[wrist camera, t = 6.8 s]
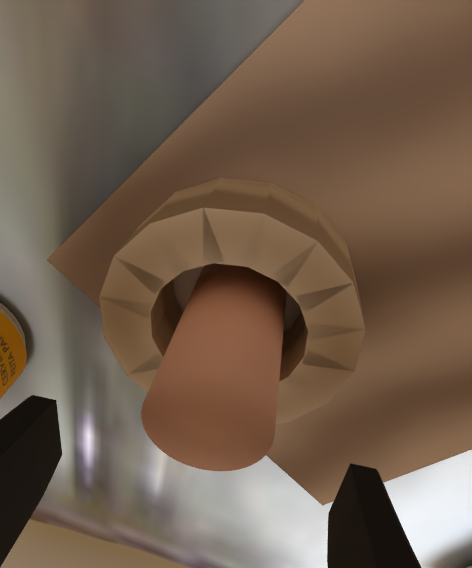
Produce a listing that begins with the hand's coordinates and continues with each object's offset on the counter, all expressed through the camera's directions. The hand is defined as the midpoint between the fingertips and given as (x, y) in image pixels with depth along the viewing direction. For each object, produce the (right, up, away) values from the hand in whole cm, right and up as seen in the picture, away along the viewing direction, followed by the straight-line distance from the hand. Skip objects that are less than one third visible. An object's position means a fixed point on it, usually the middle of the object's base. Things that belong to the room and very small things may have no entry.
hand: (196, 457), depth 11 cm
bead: (+1, +4, +7) cm, 8 cm away
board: (+6, +4, +8) cm, 10 cm away
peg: (+1, +4, +7) cm, 8 cm away
